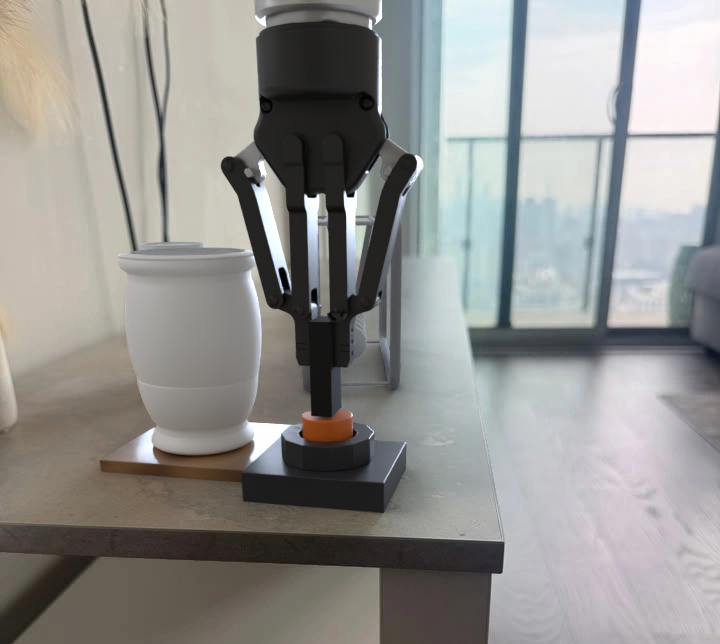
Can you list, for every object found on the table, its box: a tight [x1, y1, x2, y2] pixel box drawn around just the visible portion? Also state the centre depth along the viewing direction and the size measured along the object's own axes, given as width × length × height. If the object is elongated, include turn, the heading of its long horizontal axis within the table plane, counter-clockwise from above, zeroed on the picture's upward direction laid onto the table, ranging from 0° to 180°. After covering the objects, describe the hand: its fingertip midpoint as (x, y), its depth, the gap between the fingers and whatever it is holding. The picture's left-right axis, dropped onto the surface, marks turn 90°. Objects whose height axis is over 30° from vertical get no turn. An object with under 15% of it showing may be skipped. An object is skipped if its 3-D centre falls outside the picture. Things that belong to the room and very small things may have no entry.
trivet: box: [99, 422, 293, 483], centre depth 62 cm, size 12×12×1 cm
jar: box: [117, 247, 263, 455], centre depth 59 cm, size 11×10×15 cm
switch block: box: [241, 421, 407, 514], centre depth 54 cm, size 10×9×4 cm
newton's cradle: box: [301, 214, 403, 391], centre depth 91 cm, size 30×10×18 cm, turn 1°
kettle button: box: [301, 408, 354, 442], centre depth 54 cm, size 4×4×2 cm
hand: (326, 411), depth 53 cm, fingers closed
